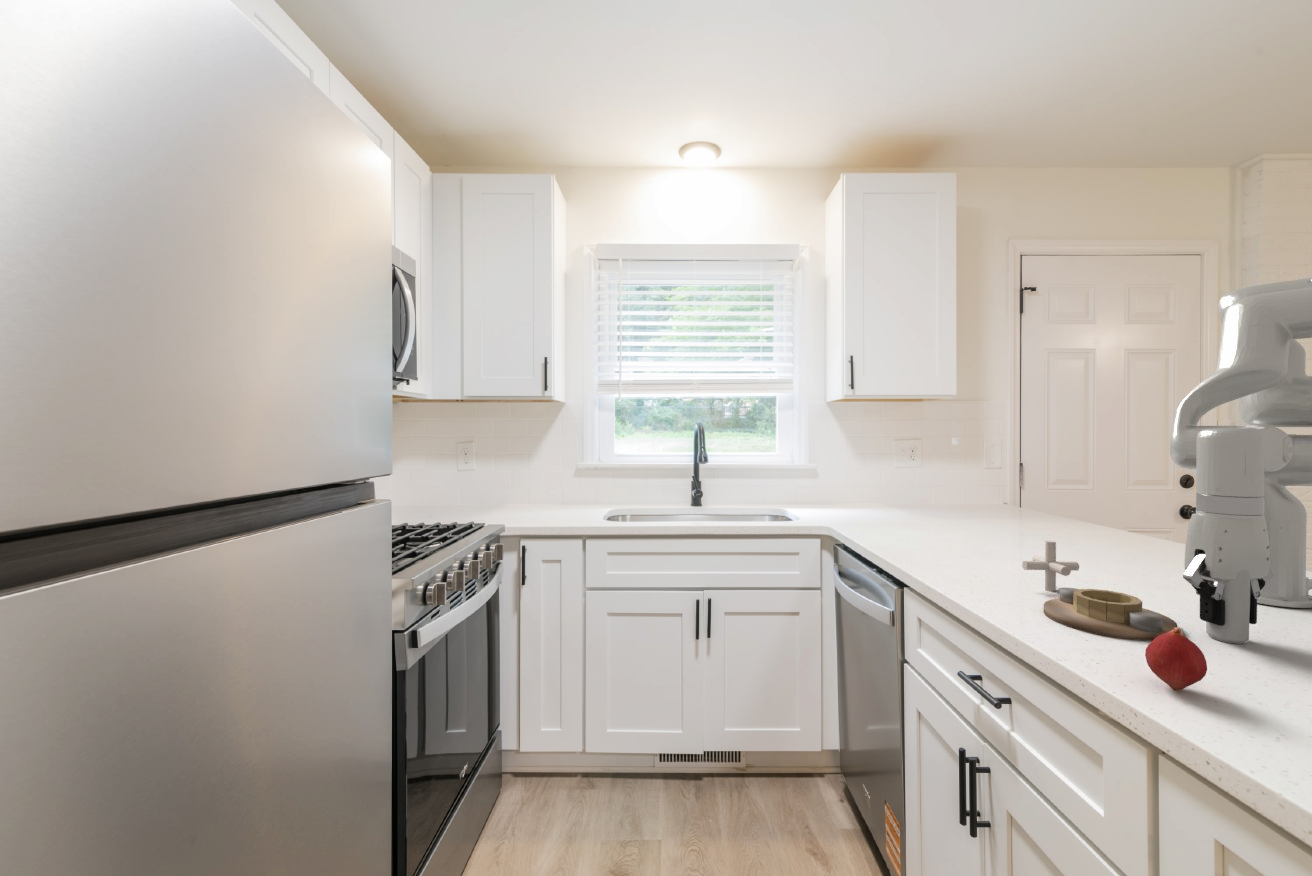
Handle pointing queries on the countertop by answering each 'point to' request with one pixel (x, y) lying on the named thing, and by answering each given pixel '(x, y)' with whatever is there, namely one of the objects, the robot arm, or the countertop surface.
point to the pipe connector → (1050, 565)
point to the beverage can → (1234, 611)
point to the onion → (1176, 659)
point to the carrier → (1107, 614)
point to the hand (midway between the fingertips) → (1227, 620)
